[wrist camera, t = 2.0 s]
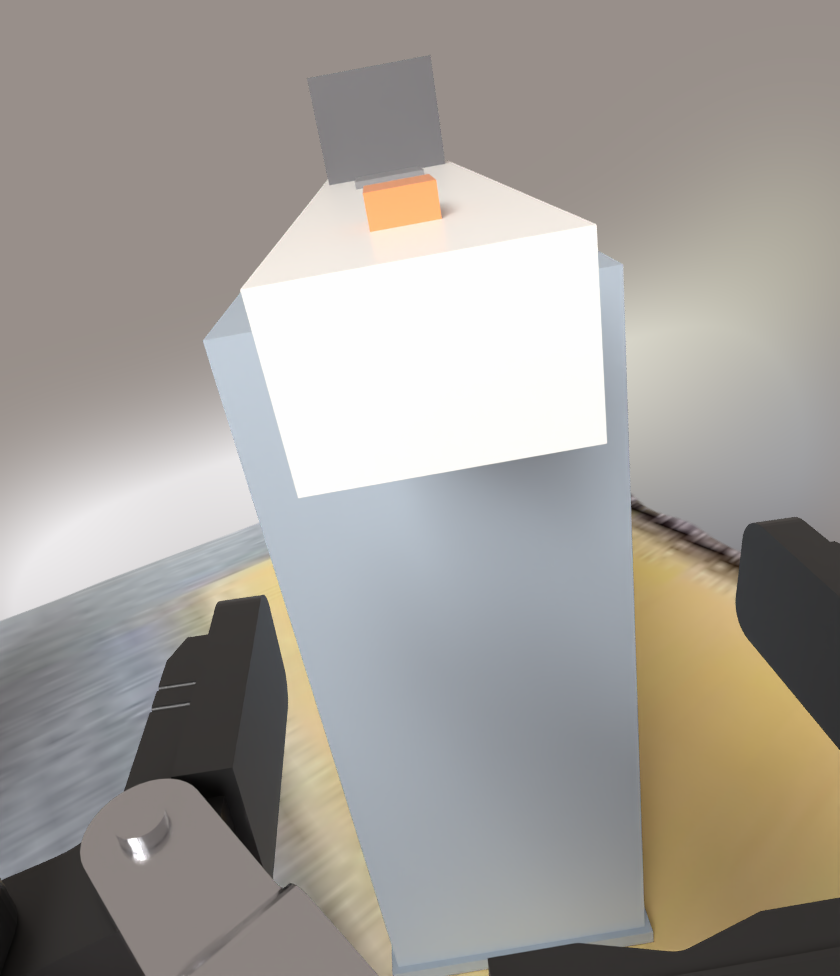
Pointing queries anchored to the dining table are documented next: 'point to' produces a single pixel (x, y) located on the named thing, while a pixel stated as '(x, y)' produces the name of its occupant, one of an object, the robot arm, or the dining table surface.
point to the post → (470, 673)
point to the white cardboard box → (422, 303)
